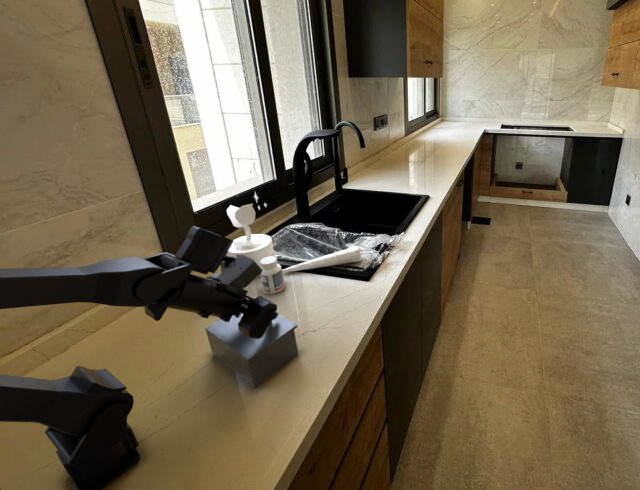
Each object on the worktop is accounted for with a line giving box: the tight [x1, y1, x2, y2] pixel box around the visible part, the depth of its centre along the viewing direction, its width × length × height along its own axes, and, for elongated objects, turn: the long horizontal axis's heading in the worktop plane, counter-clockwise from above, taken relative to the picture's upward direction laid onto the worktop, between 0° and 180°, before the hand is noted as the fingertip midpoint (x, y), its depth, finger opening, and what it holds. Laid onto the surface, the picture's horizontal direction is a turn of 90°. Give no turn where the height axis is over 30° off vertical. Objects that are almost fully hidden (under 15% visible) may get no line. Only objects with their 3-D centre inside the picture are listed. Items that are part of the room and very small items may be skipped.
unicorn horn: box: [282, 245, 362, 273], centre depth 98 cm, size 5×24×5 cm, turn 106°
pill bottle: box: [259, 255, 286, 295], centre depth 87 cm, size 5×5×9 cm
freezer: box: [205, 329, 299, 389], centre depth 66 cm, size 10×15×6 cm, turn 58°
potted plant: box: [226, 192, 275, 278], centre depth 91 cm, size 13×12×25 cm
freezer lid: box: [204, 313, 298, 362], centre depth 65 cm, size 10×15×4 cm
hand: (269, 311), depth 68 cm, fingers closed on freezer lid, 5 cm apart
